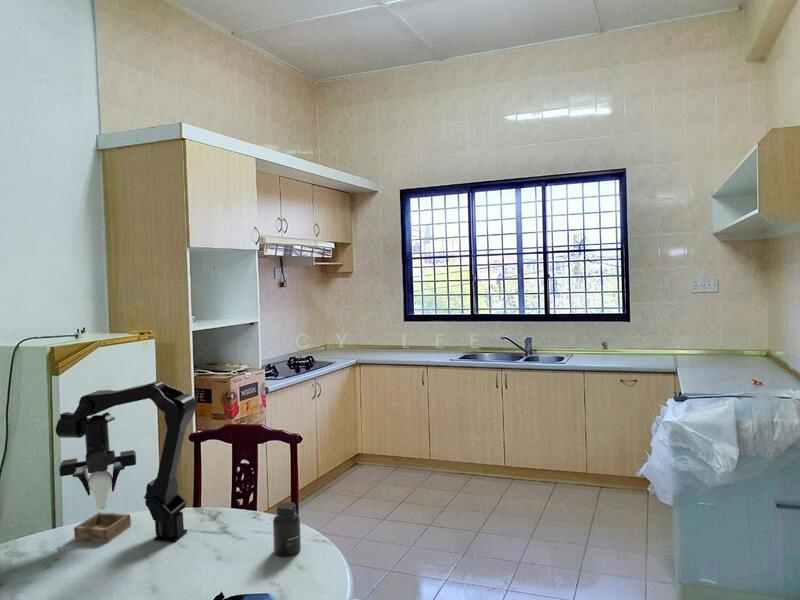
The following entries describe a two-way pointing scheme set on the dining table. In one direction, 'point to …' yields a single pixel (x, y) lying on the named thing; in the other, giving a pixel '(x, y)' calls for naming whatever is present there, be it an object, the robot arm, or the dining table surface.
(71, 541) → the dining table surface
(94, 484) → the lightbulb
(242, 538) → the dining table surface
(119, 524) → the brown square tray
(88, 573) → the dining table surface
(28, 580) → the dining table surface
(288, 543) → the supplement bottle
